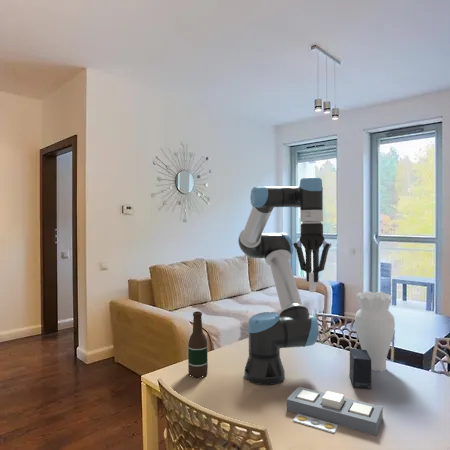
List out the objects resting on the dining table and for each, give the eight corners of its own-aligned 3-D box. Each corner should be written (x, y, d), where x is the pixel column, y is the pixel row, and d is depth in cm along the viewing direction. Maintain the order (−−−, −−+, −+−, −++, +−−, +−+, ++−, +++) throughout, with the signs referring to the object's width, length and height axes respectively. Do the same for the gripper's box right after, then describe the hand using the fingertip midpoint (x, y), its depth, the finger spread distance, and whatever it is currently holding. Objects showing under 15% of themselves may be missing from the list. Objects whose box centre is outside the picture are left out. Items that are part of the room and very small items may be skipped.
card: (293, 421, 107) (293, 419, 107) (298, 415, 110) (298, 413, 110) (334, 433, 100) (334, 431, 100) (338, 426, 103) (338, 424, 103)
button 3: (349, 418, 105) (349, 409, 105) (354, 410, 109) (353, 402, 109) (368, 423, 102) (368, 414, 102) (372, 414, 106) (372, 406, 106)
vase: (375, 377, 135) (374, 299, 135) (347, 363, 149) (346, 292, 149) (404, 370, 141) (403, 295, 141) (374, 357, 155) (373, 289, 154)
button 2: (322, 405, 109) (322, 397, 109) (327, 398, 114) (327, 390, 114) (339, 410, 106) (339, 402, 106) (344, 402, 111) (344, 394, 111)
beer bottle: (184, 376, 139) (183, 313, 139) (193, 368, 146) (193, 309, 146) (202, 379, 136) (202, 315, 136) (211, 371, 143) (210, 310, 143)
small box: (372, 389, 126) (372, 359, 126) (352, 388, 127) (352, 358, 127) (367, 376, 136) (366, 348, 136) (348, 375, 138) (348, 347, 138)
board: (286, 410, 113) (286, 399, 113) (298, 397, 121) (298, 386, 121) (376, 435, 99) (376, 422, 99) (382, 418, 107) (382, 406, 107)
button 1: (296, 404, 113) (296, 396, 113) (302, 397, 118) (302, 389, 118) (313, 408, 111) (313, 400, 111) (318, 401, 115) (318, 393, 115)
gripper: (289, 223, 125) (290, 291, 126) (327, 222, 118) (328, 295, 118) (297, 222, 132) (298, 288, 132) (333, 222, 125) (334, 291, 125)
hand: (312, 291), depth 125 cm, fingers closed
